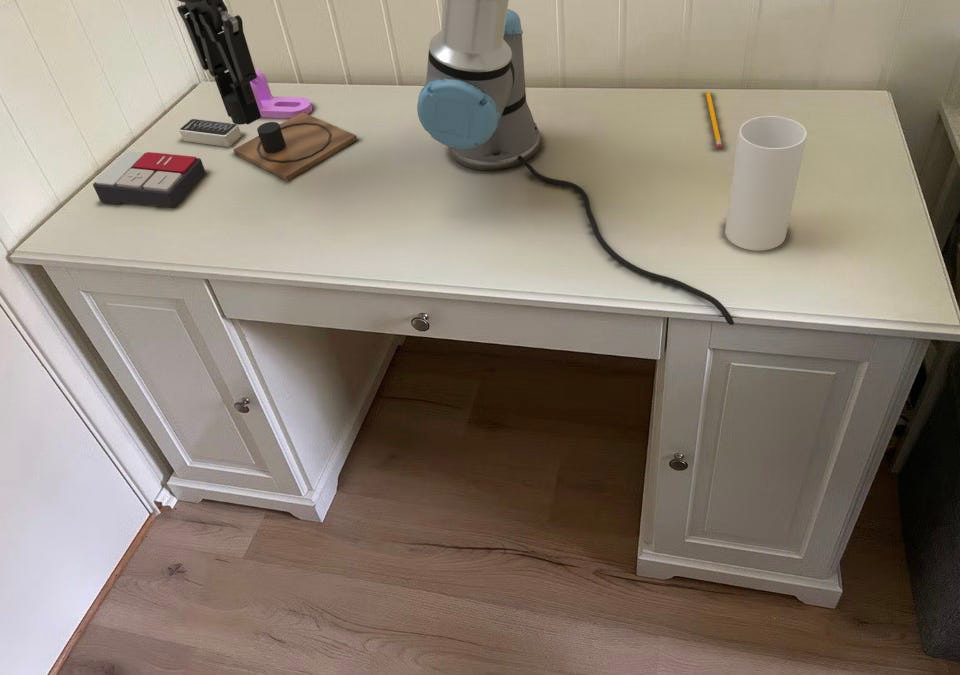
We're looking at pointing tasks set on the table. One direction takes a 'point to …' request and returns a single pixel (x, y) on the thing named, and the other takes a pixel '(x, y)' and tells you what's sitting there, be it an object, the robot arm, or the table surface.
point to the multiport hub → (210, 132)
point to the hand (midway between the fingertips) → (244, 116)
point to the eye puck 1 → (234, 108)
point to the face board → (297, 146)
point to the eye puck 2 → (271, 137)
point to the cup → (764, 181)
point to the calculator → (149, 179)
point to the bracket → (277, 101)
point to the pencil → (714, 121)
